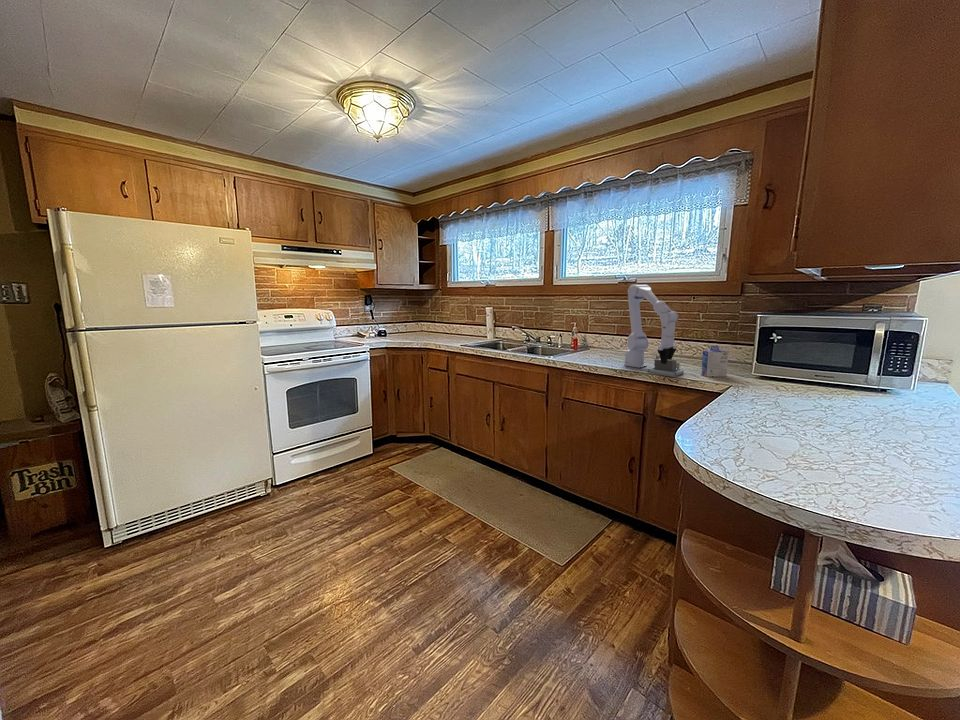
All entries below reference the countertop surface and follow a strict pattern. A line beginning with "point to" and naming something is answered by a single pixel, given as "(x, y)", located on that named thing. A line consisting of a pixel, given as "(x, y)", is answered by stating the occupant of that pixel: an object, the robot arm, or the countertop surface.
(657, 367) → the gray white block
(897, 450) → the countertop surface
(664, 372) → the tray
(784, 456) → the countertop surface
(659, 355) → the bay
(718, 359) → the ink cartridge box
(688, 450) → the countertop surface
